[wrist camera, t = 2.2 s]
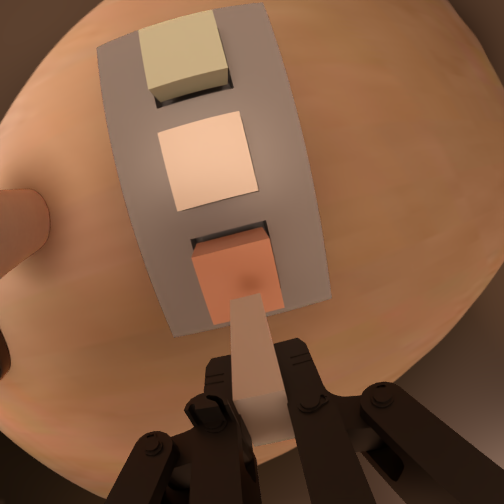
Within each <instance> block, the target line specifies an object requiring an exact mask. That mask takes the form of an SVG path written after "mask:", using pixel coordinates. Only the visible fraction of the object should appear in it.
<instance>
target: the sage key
mask: <svg viewBox="0 0 504 504" xmlns="http://www.w3.org/2000/svg"><path fill="white" fill-rule="evenodd" d="M138 33H139V40H140V46H141V52H142V58H143V64H144V70H145V75H146V81H147V86H148V90H149V91H150V92H151V93H152V94H153V95H154V96H155V97H156V98H157V99H158V100H159V101H160V102H163V101H166V100H169V99H173V98H176V97H179V96H183V95H186V94H190V93H193V92H197V91H201V90H205V89H209V88H213V87H217V86H222V85H226V84H228V66H227V62H226V58H225V54H224V51H223V47H222V43H221V40H220V36H219V32H218V29H217V25H216V21H215V18H214V14H213V11H212V10H208V11H203V12H198V13H194V14H190V15H186V16H182V17H178V18H174V19H171V20H167V21H164V22H161V23H158V24H155V25H151V26H149V27H146V28H143V29H140V30H138Z"/></svg>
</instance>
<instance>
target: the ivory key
mask: <svg viewBox="0 0 504 504" xmlns="http://www.w3.org/2000/svg"><path fill="white" fill-rule="evenodd" d="M158 138H159V142H160V146H161V150H162V155H163V159H164V163H165V167H166V171H167V175H168V178H169V182H170V186H171V190H172V194H173V197H174V201H175V205H176V208H177V212H178V211H182V210H185V209H189V208H193V207H196V206H200V205H204V204H207V203H211V202H215V201H219V200H222V199H226V198H230V197H234V196H238V195H242V194H246V193H251V192H255V191H259V190H258V186H257V182H256V177H255V173H254V169H253V165H252V161H251V156H250V152H249V148H248V144H247V140H246V136H245V132H244V128H243V124H242V120H241V116H240V112H239V111H236V112H231V113H227V114H223V115H218V116H214V117H210V118H206V119H203V120H199V121H195V122H192V123H188V124H185V125H181V126H178V127H175V128H171V129H168V130H165V131H162V132H159V133H158Z"/></svg>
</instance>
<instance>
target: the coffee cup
mask: <svg viewBox="0 0 504 504" xmlns="http://www.w3.org/2000/svg"><path fill="white" fill-rule="evenodd" d="M49 230H50V216H49V211H48V208H47V205H46V203H45V201H44V199H43V198H42V196H41V195H40V194H39V193H38V192H36V191H34V190H32V189H14V190H0V279H1V278H2V277H3V276H4V275H6V274H7V273H8V272H9V271H11V270H12V269H13V268H14V267H16V266H17V265H18V264H20V263H21V262H22V261H23V260H25V259H26V258H27V257H29V256H30V255H32V254H33V253H34V252H36V251H37V250H38V249H40V248H41V247H42V246H43V245H44V244H45V242H46V240H47V238H48V235H49Z"/></svg>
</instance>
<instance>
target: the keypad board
mask: <svg viewBox="0 0 504 504" xmlns="http://www.w3.org/2000/svg"><path fill="white" fill-rule="evenodd" d="M212 11H213V14H214V18H215V21H216V25H217V29H218V32H219V36H220V40H221V43H222V47H223V51H224V54H225V58H226V62H227V66H228V84H226V85H222V86H217V87H213V88H209V89H205V90H201V91H197V92H193V93H190V94H186V95H183V96H179V97H176V98H173V99H169V100H166V101H163V102H160V101H159V100H158V99H157V98H156V97H155V96H154V95H153V94H152V93H151V92H150V91H149V90H148V86H147V81H146V75H145V70H144V64H143V58H142V52H141V46H140V40H139V33H138V30H137V31H134V32H132V33H129V34H127V35H124V36H122V37H119V38H117V39H114V40H112V41H110V42H108V43H105V44H103V45H101V46H99V47H97V58H98V68H99V76H100V84H101V91H102V98H103V104H104V111H105V116H106V122H107V127H108V132H109V137H110V142H111V147H112V152H113V156H114V160H115V165H116V169H117V173H118V177H119V181H120V185H121V189H122V192H123V196H124V200H125V203H126V207H127V210H128V214H129V217H130V220H131V224H132V227H133V230H134V233H135V236H136V240H137V243H138V246H139V249H140V252H141V255H142V258H143V260H144V263H145V266H146V269H147V272H148V274H149V277H150V280H151V283H152V285H153V288H154V290H155V293H156V296H157V298H158V301H159V303H160V306H161V308H162V311H163V313H164V315H165V318H166V320H167V323H168V325H169V327H170V330H171V332H172V334H173V337H179V336H184V335H189V334H194V333H199V332H204V331H208V330H213V329H217V328H222V327H226V326H230V321H229V322H225V323H221V324H216V325H213V322H212V319H211V316H210V313H209V310H208V308H207V305H206V302H205V299H204V296H203V293H202V290H201V287H200V284H199V281H198V278H197V275H196V272H195V268H194V265H193V262H192V259H191V257H192V255H193V252H194V249H195V247H196V244H197V243H201V242H205V241H208V240H212V239H216V238H220V237H224V236H228V235H232V234H236V233H240V232H244V231H248V230H251V229H255V228H260V227H263V229H264V230H265V232H266V233H267V235H268V236H269V238H270V242H271V247H272V251H273V256H274V260H275V265H276V270H277V274H278V279H279V283H280V288H281V293H282V298H283V302H284V307H285V308H281V309H277V310H274V311H270V312H266V313H265V314H266V317H267V316H271V315H275V314H279V313H283V312H286V311H290V310H294V309H297V308H301V307H304V306H308V305H311V304H315V303H318V302H321V301H325V300H328V299H331V298H332V296H331V288H330V280H329V273H328V266H327V259H326V252H325V246H324V239H323V233H322V227H321V221H320V216H319V210H318V204H317V199H316V194H315V189H314V184H313V179H312V174H311V169H310V165H309V160H308V155H307V151H306V147H305V142H304V138H303V134H302V130H301V126H300V122H299V118H298V114H297V110H296V106H295V102H294V98H293V95H292V91H291V88H290V84H289V80H288V77H287V74H286V70H285V67H284V64H283V60H282V57H281V54H280V51H279V47H278V44H277V41H276V38H275V35H274V32H273V29H272V26H271V24H270V21H269V18H268V15H267V12H266V9H265V7H264V4H263V3H253V4H244V5H237V6H230V7H224V8H218V9H213V10H212ZM154 25H155V24H154ZM148 27H149V26H148ZM236 111H239V112H240V116H241V120H242V124H243V128H244V132H245V136H246V140H247V144H248V148H249V152H250V156H251V161H252V165H253V169H254V173H255V177H256V182H257V186H258V190H259V191H255V192H251V193H246V194H242V195H238V196H234V197H230V198H226V199H222V200H219V201H215V202H211V203H207V204H204V205H200V206H196V207H193V208H189V209H185V210H182V211H178V212H177V208H176V205H175V201H174V197H173V194H172V190H171V186H170V182H169V178H168V175H167V171H166V167H165V163H164V159H163V155H162V150H161V146H160V142H159V138H158V133H159V132H162V131H165V130H168V129H171V128H175V127H178V126H181V125H185V124H188V123H192V122H195V121H199V120H203V119H206V118H210V117H214V116H218V115H223V114H227V113H231V112H236Z"/></svg>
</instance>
